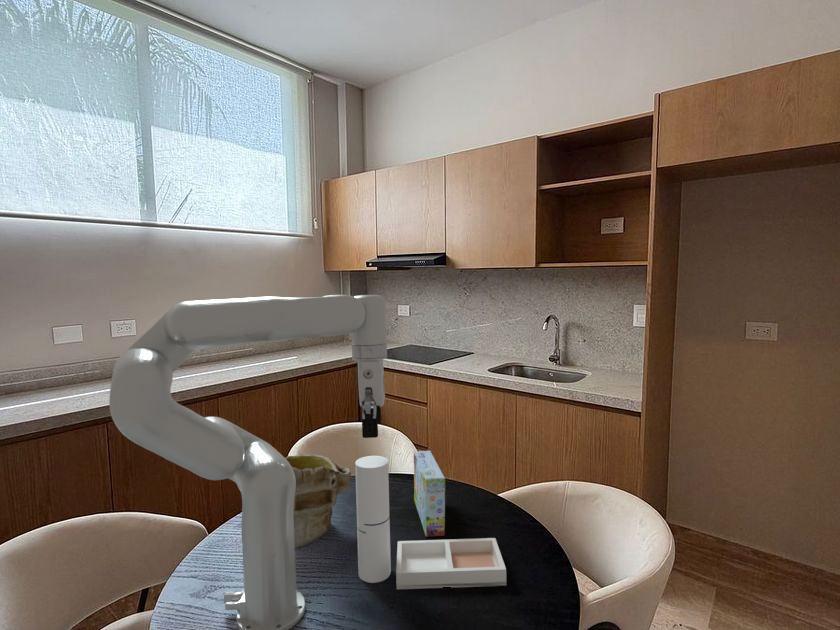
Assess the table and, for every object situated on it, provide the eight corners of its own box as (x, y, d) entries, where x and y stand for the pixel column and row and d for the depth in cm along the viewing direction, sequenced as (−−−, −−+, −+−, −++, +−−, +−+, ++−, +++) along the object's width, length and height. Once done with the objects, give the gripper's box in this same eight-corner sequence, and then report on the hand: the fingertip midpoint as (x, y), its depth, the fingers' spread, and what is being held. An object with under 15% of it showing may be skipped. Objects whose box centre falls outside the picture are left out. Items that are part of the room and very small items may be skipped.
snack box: (447, 536, 114) (446, 477, 113) (425, 538, 113) (424, 479, 112) (431, 498, 135) (430, 449, 134) (412, 500, 134) (411, 450, 133)
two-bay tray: (396, 589, 94) (396, 573, 93) (398, 555, 106) (397, 541, 105) (506, 585, 94) (506, 569, 94) (495, 552, 106) (495, 537, 106)
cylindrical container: (385, 584, 95) (382, 468, 94) (353, 580, 97) (350, 466, 95) (394, 564, 102) (391, 456, 101) (364, 561, 104) (361, 454, 102)
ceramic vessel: (330, 468, 137) (344, 418, 122) (349, 548, 121) (368, 501, 106) (251, 482, 127) (256, 429, 112) (261, 571, 111) (268, 523, 96)
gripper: (384, 357, 88) (387, 442, 89) (388, 346, 106) (391, 418, 107) (346, 358, 88) (349, 444, 89) (356, 347, 106) (359, 419, 107)
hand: (372, 429), depth 98 cm, fingers open, 9 cm apart
